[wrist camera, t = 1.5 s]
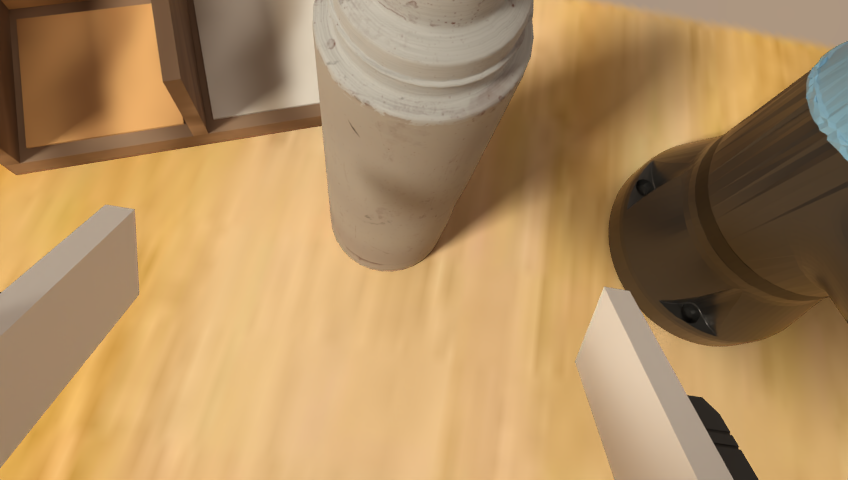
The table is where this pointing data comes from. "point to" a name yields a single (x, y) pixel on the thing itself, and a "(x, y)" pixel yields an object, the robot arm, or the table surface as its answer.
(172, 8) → the rack
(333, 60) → the thermos bottle
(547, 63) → the table surface
